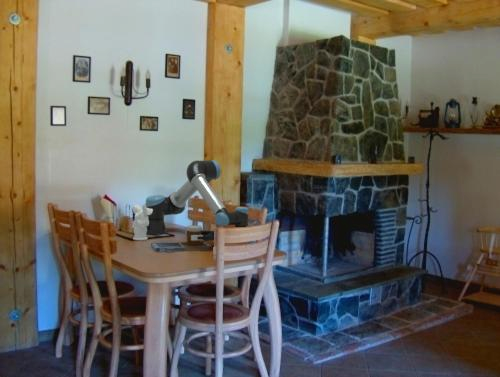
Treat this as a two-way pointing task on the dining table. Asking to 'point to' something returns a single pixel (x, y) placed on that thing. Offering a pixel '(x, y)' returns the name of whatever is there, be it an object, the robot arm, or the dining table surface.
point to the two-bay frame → (181, 246)
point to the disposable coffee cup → (193, 231)
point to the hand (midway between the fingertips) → (188, 235)
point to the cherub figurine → (141, 221)
